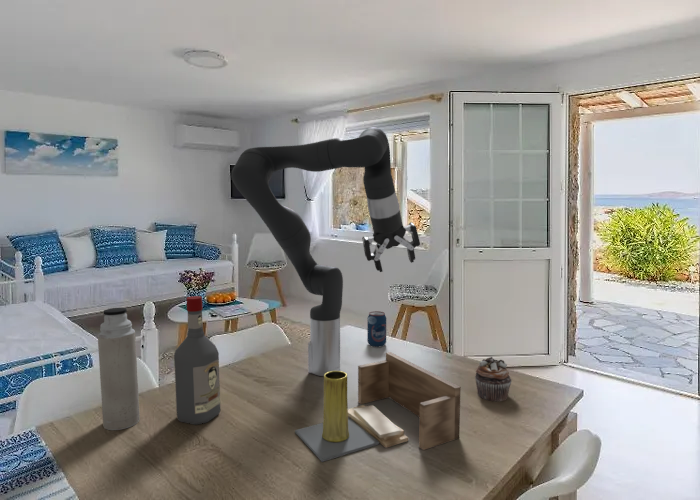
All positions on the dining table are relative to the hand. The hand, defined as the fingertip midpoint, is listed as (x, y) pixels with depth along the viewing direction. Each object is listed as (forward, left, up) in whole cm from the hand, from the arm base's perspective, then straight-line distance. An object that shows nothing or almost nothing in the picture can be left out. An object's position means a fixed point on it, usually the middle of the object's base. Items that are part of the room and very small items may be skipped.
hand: (396, 265), depth 123 cm
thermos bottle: (-61, -31, -36) cm, 78 cm away
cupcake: (+26, +9, -36) cm, 45 cm away
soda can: (-14, +44, -36) cm, 59 cm away
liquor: (-45, -23, -36) cm, 63 cm away
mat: (-9, -25, -36) cm, 45 cm away
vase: (-9, -25, -36) cm, 44 cm away
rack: (+2, -14, -36) cm, 39 cm away
